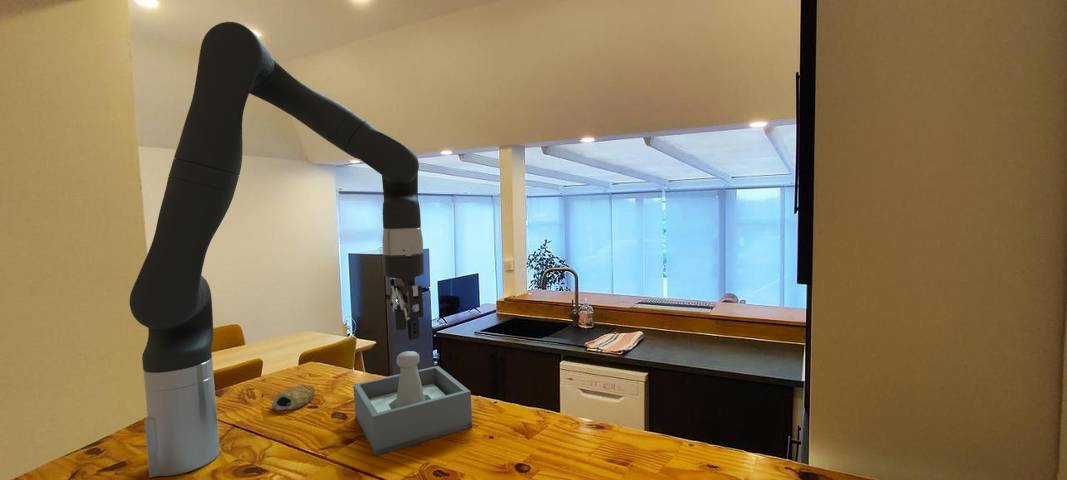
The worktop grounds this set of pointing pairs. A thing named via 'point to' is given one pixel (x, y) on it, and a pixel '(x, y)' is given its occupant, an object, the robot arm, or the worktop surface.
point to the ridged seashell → (293, 397)
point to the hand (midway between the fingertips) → (406, 334)
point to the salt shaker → (409, 380)
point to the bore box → (411, 410)
